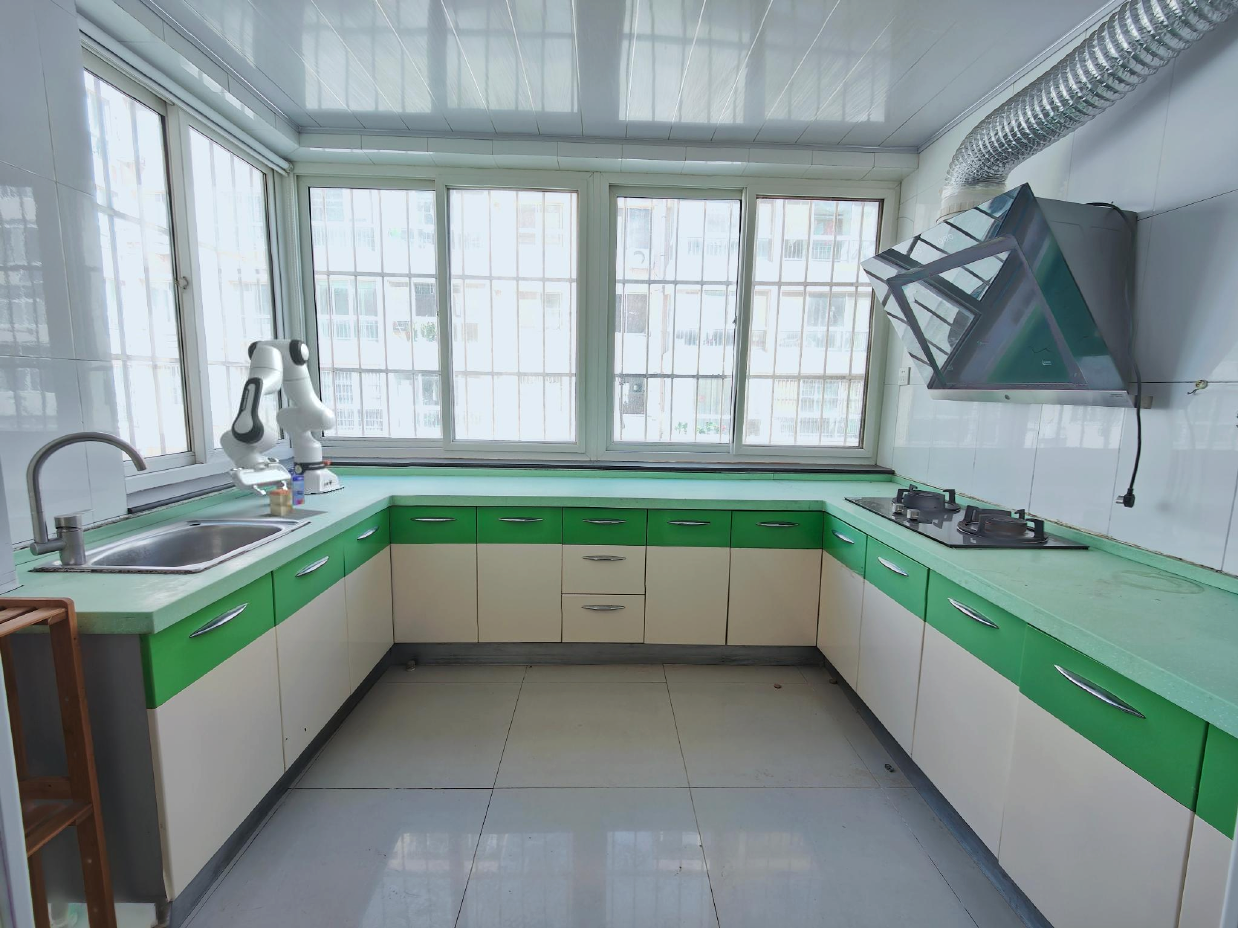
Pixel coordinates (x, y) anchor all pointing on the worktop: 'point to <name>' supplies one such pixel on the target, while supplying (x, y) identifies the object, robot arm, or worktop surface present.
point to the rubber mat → (297, 514)
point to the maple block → (281, 502)
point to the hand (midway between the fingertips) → (274, 493)
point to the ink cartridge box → (295, 488)
